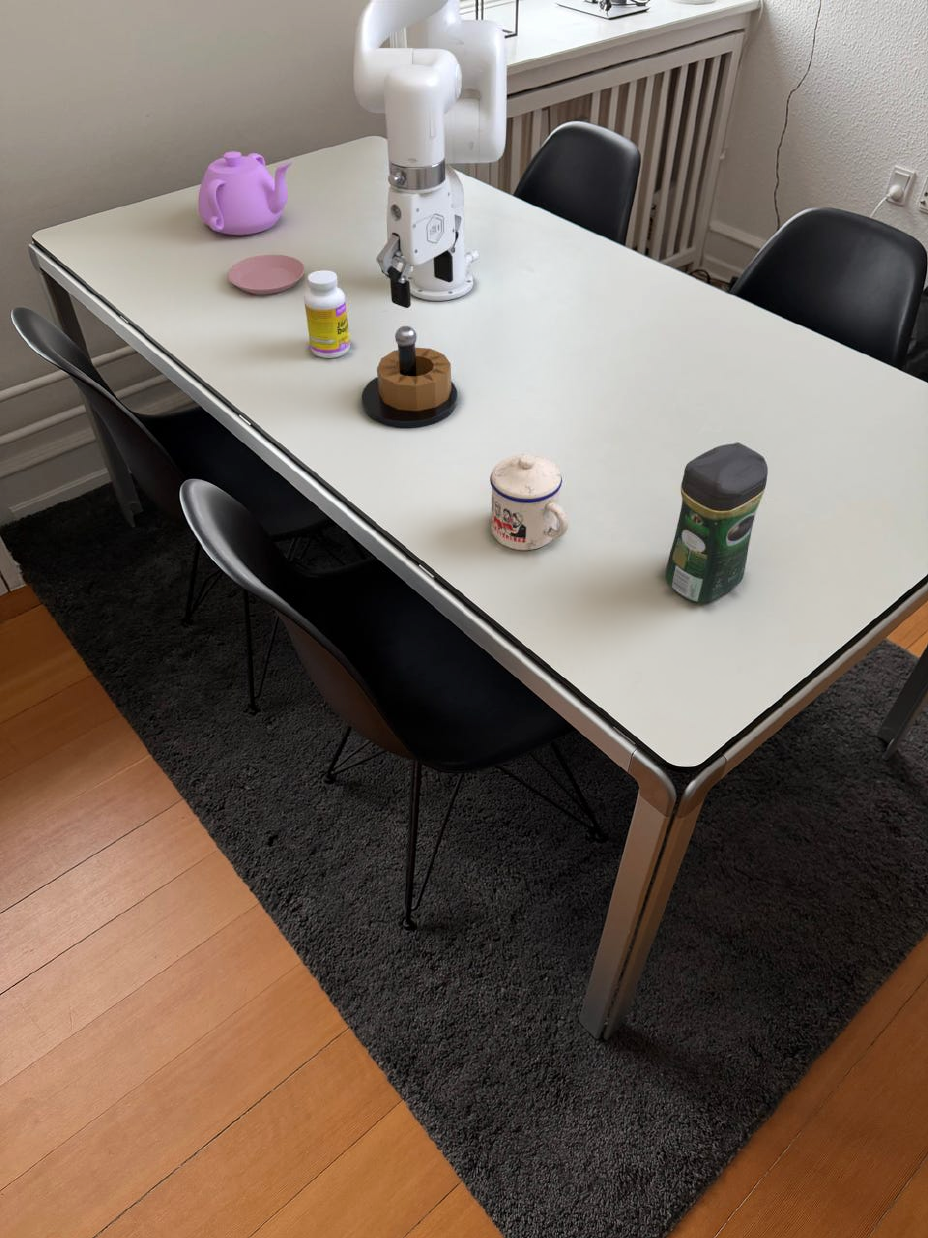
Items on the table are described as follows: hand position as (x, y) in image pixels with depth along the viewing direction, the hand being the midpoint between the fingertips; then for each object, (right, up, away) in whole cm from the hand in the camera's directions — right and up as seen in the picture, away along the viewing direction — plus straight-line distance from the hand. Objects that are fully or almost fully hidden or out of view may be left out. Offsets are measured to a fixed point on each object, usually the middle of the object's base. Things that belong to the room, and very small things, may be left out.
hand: (422, 291), depth 139 cm
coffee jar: (+36, -44, -20) cm, 60 cm away
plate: (-31, +15, +39) cm, 52 cm away
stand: (-2, -14, +9) cm, 17 cm away
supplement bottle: (-16, -3, +21) cm, 27 cm away
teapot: (-37, +33, +57) cm, 76 cm away
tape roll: (-2, -13, +9) cm, 15 cm away
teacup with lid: (+15, -37, -14) cm, 43 cm away
